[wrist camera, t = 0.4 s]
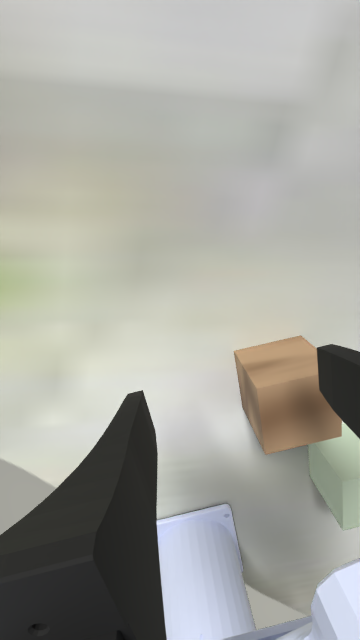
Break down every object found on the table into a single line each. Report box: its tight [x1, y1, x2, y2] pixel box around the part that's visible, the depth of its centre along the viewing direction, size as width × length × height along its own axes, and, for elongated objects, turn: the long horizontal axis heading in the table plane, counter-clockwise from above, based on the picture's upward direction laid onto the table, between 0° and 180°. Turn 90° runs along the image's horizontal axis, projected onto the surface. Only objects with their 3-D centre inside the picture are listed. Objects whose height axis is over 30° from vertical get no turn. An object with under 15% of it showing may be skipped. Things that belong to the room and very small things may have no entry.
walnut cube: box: [234, 336, 342, 455], centre depth 21 cm, size 5×5×5 cm
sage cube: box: [308, 423, 360, 531], centre depth 24 cm, size 5×5×5 cm
